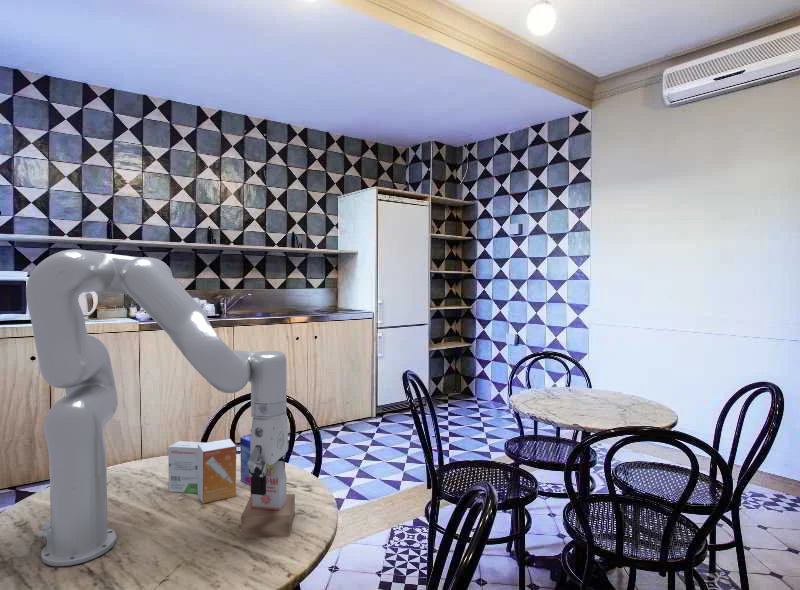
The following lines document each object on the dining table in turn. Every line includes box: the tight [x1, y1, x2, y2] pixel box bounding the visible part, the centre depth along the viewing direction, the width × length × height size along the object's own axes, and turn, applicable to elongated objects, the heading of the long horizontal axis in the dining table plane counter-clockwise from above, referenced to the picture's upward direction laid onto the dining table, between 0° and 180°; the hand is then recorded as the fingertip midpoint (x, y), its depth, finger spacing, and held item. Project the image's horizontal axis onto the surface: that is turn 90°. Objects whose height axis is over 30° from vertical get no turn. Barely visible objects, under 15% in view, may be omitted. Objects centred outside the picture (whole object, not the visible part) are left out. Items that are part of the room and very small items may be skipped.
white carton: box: [249, 460, 287, 510], centre depth 108 cm, size 4×7×10 cm, turn 81°
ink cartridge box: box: [239, 429, 251, 485], centre depth 130 cm, size 10×6×14 cm, turn 54°
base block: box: [240, 493, 296, 539], centre depth 108 cm, size 10×10×5 cm
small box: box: [197, 438, 237, 504], centre depth 122 cm, size 8×6×13 cm
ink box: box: [167, 440, 204, 494], centre depth 126 cm, size 9×5×12 cm, turn 83°
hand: (268, 484), depth 108 cm, fingers open, 9 cm apart
